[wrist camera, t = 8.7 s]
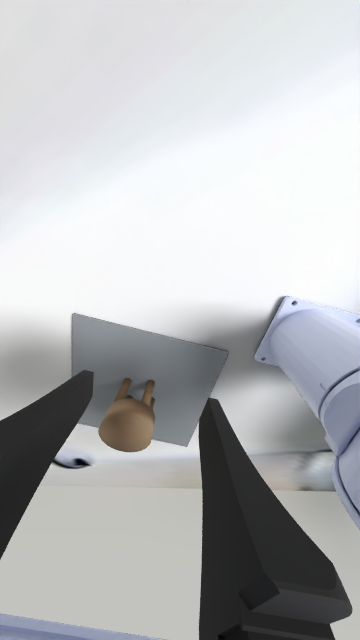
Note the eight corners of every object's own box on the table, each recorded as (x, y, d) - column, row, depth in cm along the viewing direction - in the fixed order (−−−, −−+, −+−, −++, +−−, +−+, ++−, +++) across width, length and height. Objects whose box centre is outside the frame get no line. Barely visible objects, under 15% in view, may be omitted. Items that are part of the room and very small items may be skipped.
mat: (227, 351, 21) (228, 353, 21) (187, 444, 28) (187, 446, 28) (74, 313, 20) (72, 314, 20) (72, 419, 27) (71, 421, 27)
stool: (160, 375, 22) (150, 419, 17) (160, 406, 25) (151, 454, 19) (117, 372, 23) (94, 415, 17) (121, 403, 25) (102, 449, 19)
